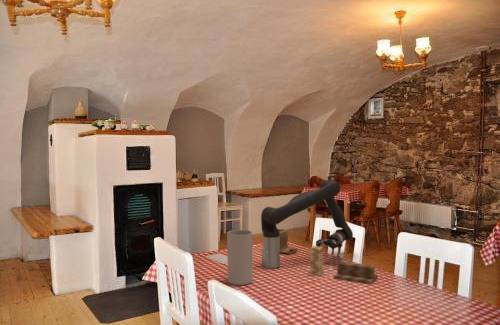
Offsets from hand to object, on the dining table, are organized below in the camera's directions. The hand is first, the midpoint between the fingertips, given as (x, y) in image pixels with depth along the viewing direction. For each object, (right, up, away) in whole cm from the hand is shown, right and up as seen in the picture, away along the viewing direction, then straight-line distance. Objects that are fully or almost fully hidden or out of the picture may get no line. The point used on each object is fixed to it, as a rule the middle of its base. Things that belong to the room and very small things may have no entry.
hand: (324, 246), depth 247 cm
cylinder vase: (-46, -14, -22) cm, 53 cm away
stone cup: (-20, -11, +36) cm, 43 cm away
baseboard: (-55, -13, +16) cm, 59 cm away
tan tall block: (-6, -13, -9) cm, 17 cm away
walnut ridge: (+13, -13, -17) cm, 25 cm away
